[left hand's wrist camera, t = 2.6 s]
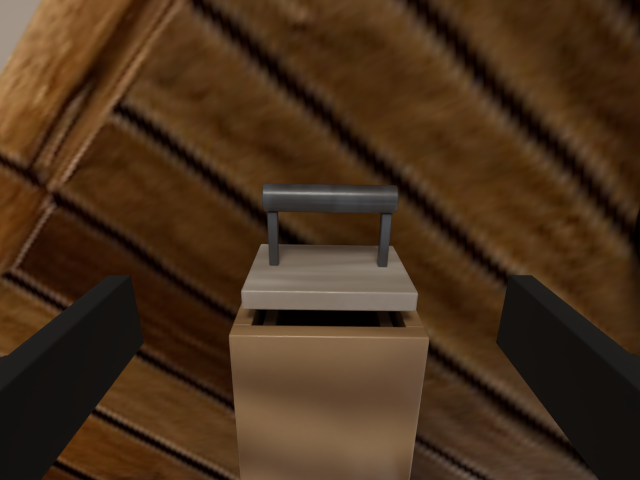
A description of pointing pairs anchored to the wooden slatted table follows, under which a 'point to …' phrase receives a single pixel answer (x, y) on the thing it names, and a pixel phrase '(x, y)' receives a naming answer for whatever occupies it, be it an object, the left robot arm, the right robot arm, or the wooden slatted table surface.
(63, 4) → the wooden slatted table surface
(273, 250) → the drawer
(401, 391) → the cabinet
